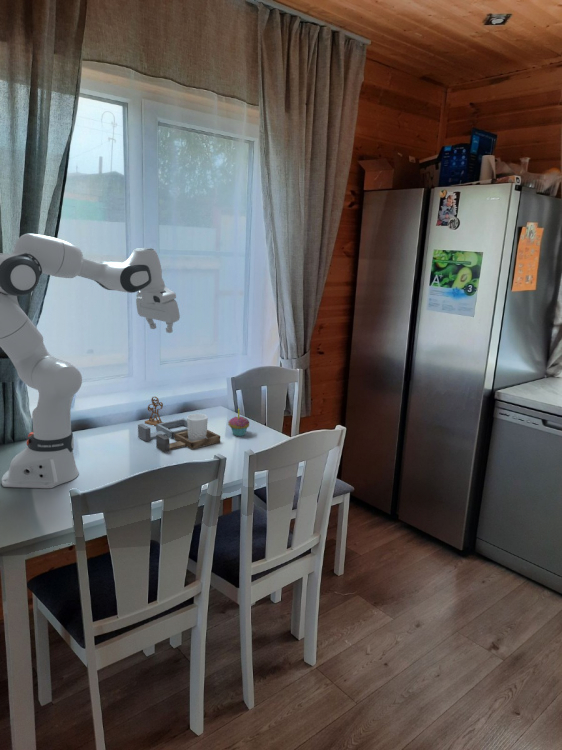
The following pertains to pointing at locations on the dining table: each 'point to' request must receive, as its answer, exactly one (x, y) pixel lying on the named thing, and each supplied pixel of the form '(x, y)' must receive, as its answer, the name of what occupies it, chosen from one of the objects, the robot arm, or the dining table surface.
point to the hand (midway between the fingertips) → (161, 330)
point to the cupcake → (238, 425)
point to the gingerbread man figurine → (151, 420)
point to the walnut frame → (184, 441)
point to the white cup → (197, 426)
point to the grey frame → (161, 429)
